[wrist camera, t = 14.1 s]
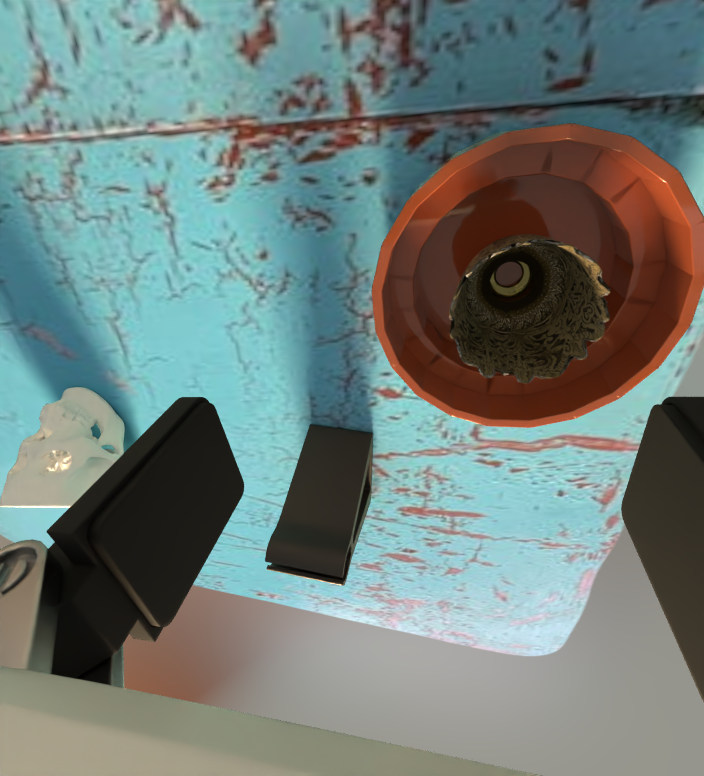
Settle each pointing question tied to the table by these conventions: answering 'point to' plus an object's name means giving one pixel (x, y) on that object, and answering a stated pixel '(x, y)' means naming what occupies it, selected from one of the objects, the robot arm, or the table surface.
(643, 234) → the bowl
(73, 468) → the skull bowl
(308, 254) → the table surface
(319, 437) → the door stopper
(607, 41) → the table surface
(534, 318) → the cup
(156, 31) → the table surface
